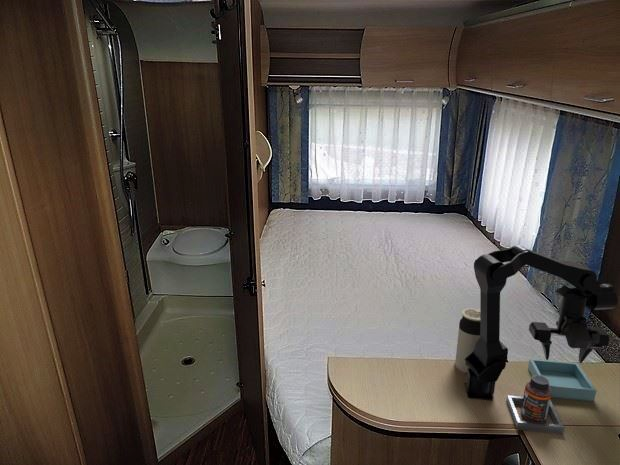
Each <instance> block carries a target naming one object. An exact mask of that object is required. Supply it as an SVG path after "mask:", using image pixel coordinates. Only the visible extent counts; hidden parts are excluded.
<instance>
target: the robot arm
mask: <svg viewBox="0 0 620 465" xmlns="http://www.w3.org/2000/svg"><path fill="white" fill-rule="evenodd" d="M525 266H528V267H531V268H533V269H536V270H538V271H542V272H545V273H547V274H548V275H549V274H550V275H552V276H554V277H558V278H559V279H561V280H562V281H565V282H566V283H568V284H569V285H571V286H573V287H568V286H567V285H565V284H563V285H562V286H561V287H559V288H557V289H556V290H555V292H556V293H557V294H558V295H560V296H562V299H561V305H560V307H559V308H558V313H559V316H558V321H555V325H556V328H554V327H549V326H548V325H547V323H546V322H537V321H532V322H530V323H529V325H528V331H529V333H530V334H531V336H532V338H533V340H535V341H538V342H540V343H541V345H542V351H543V354H544V358H545V360H549V359H550V350H551V345H553V344H552V343H553V341H551V338H552V336H556V337H557V336H558V337H565V339H566V341H567V345H568V347H570V348H571V349H579V353H578V362H579V364H582V363H583V362H584V361H585V359H586V358H588V356H589V355H590V353H591V352H592V351H593V350H594V349H599V348H600V349H601V348H603V346H604V347H609V346H610V344H611V336H610V335H609V334H608V333H607V332H606V330H604V328H603V327H602V326H589V325H588V326H587V318H586V311H587V309H588V310H591V311H598V310H612V309H614V308H616V307H617V306H618V305H619V299H618V295H617V293H616V291H615V290H614V289H615V286H614V285H612V284H610V283H609V282H608V283H601V284H600V283H599V282H598V280H597V273H596V271H594V270H592V269H590V268H588V267H586V266H584V265H583V264H580V263H578V262H576V261H569V260H564V261H563V260H558V259H555V258H553V257H550V256H547V255H544V254H542V253H539V252H537V251H533V250H531V249H528V248H526V247H525V246H523V245H520V244H518V245H517V244H516V245H513V246H511V247H508V248H504V249H499V250H495V251H492V252H489V253H485V254H481V255H479V256H478V257H477V259H475V260H474V262H473V270H474V271H473V272H474V275H475V279H476V282H477V284H478V287H479V289H480V296H479V297H480V302H479V303H480V305H479V306H480V308H479V309H480V338H479V339H478V341H477V342H476V345H475V350H474V351H473V352H472V353H471V354H470V355H469V356H467V357H466V358H465V363H466V365H467V366H468V367H469V368H468V373H467V375H466V381H465V383H464V387H465V391H466V392H465V393H466V395H467V398H469V399H475V400H485V401H493V400H494V397H493V395H494V393H495V387H496V382H498V380H499V378H500V376H501V373H503V370H505V368H506V367H507V366H506V365H507V363H509V360H508V353H509V349H508V347H507V346H506V345H505V344H504V343H503V342H502V341H501V340H500V337H501V336H500V333H501V332H500V331H501V329H500V328H501V325H500V323H501V318H500V317H501V292H502V290H503V289H504V288H505V287H506V284H507V280H508V278H510V277H512V276H515V275H516V274H517V273H518V272H519V271H520V270H521V269H522V268H523V267H525Z"/></svg>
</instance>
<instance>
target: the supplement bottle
mask: <svg viewBox="0 0 620 465" xmlns="http://www.w3.org/2000/svg"><path fill="white" fill-rule="evenodd" d="M548 386H549V380H548V379H547V378H545V377H543V376H541V375H533V376H531V378H530V381H528V382H526V383H525V387H524V392H523V396H522V397H523V402H522V404H521V408H520V415H521V416H522V418H523V419H524V420H525V421H529V422H538V423H545V422H546V421H547V418H548V413H549V411H548V408H549V404H550V401H551V399H552V398H551V389H550V388H549V387H548Z"/></svg>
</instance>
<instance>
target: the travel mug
mask: <svg viewBox="0 0 620 465" xmlns="http://www.w3.org/2000/svg"><path fill="white" fill-rule="evenodd" d="M458 323H459V324H458V335H457V342H456V343H457V344H456V352H455V361H454V365H455V367H456V369H457V370H458V371H459V372H462V373H467V374H468V368H469V367H468V366H467V365H466V363H465V358H466V357H467V356H469V355H470V354H471V353H472V352H473V351H474V350H475V345H476V342H477V341H478V339H479V338H480V308H475V307H474V308H473V307H469V308H464V309H463V310H461V319H460V320H459V322H458Z"/></svg>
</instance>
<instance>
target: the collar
mask: <svg viewBox="0 0 620 465" xmlns="http://www.w3.org/2000/svg"><path fill="white" fill-rule="evenodd" d="M505 401H506V403H507V406H508V410H509V412H510V414H511V417H512V420H513V423H514V426H515V428H516V430H522V431H529V432H538V433H547V434H554V435H555V434H557V435H564V433H565V426H564V424H563V421H562V420H561V418H560V417H559V415H558V412H557V410H556V409H555V406H554V405H553V403H552V401H551V400H550V404H549V408H548V413H549V415H550V417H551V419H552V421H553V423H545V422H544V423H538V422H529V421H527V420H521V418H520V416H519V414H518V410H517V408H516V406H515V404H516V405H517V404H518V405H522V402H523V396H522V395H521V396H520V395H519V396H518V395H509V394H507V395H506V400H505Z"/></svg>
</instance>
